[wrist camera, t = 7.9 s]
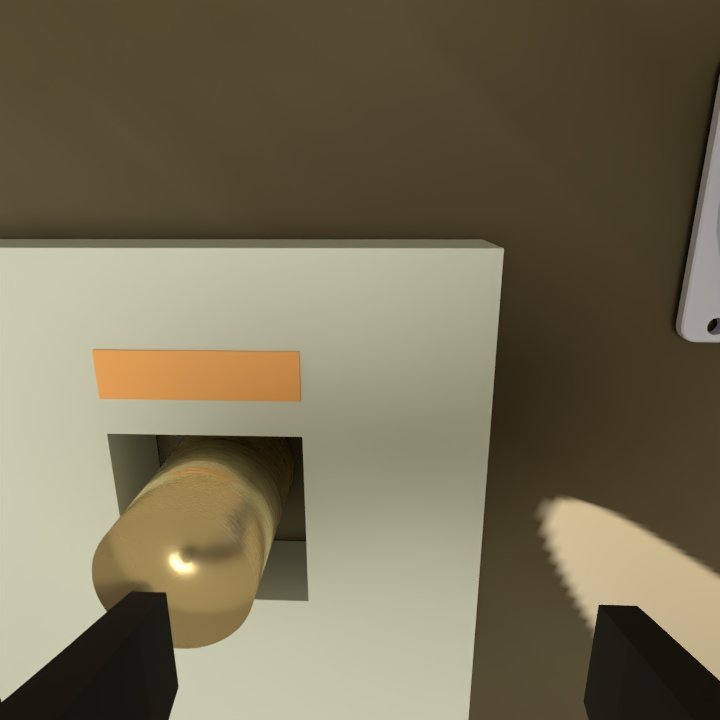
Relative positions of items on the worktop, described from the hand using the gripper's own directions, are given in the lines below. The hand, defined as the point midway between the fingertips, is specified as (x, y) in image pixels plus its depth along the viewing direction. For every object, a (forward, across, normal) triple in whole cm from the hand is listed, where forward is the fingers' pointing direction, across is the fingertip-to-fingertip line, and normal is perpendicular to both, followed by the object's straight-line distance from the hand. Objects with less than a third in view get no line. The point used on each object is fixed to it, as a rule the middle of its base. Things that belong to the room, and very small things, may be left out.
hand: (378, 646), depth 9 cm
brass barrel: (+9, +5, +2) cm, 11 cm away
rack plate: (+9, +5, +2) cm, 11 cm away
